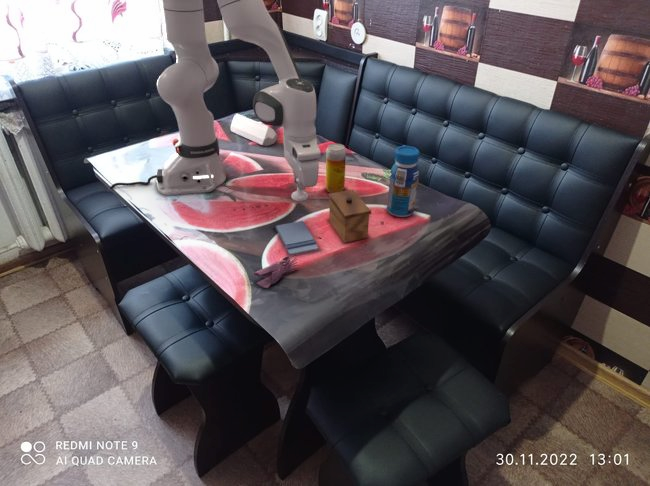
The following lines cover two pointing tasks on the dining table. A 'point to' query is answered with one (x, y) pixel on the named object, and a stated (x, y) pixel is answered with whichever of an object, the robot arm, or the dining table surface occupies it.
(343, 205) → the bread box
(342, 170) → the yellow cylinder
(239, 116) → the crystal
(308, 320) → the dining table surface
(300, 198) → the chess piece
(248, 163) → the dining table surface
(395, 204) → the beverage bottle
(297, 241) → the grey flat slab
